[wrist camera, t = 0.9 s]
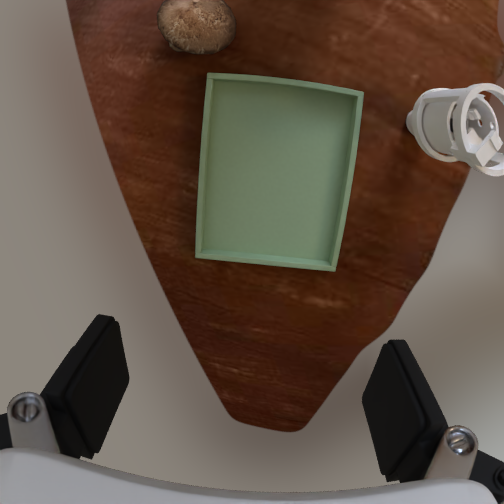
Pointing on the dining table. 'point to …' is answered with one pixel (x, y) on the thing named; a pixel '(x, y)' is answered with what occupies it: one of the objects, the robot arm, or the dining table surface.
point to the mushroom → (196, 25)
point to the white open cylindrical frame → (459, 126)
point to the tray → (275, 170)
